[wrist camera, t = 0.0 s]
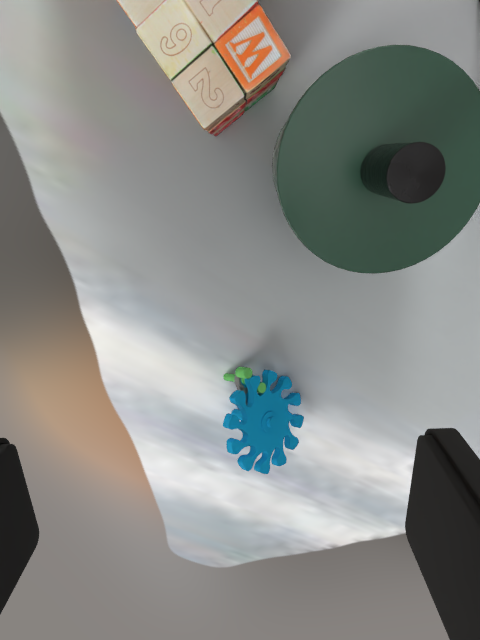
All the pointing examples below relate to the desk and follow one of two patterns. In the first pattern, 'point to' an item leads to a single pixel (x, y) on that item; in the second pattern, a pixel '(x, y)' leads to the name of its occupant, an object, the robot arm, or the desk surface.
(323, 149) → the lid
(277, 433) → the gear
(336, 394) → the desk surface
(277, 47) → the stack of blocks
